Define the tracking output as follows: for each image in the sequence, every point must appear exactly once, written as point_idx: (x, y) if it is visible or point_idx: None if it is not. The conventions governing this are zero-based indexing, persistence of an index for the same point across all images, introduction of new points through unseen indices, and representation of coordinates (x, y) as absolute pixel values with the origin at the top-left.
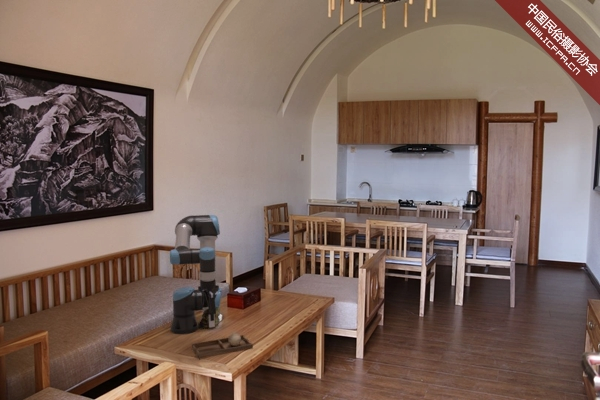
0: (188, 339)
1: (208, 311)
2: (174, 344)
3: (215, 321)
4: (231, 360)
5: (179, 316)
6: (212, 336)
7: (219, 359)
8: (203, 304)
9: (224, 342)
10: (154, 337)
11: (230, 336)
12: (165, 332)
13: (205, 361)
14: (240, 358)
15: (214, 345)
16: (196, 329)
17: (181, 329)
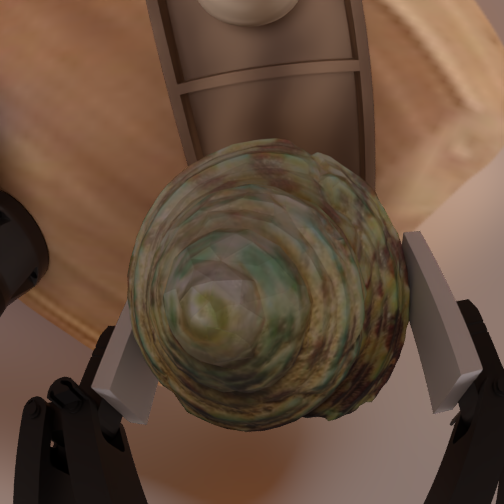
0: (93, 230)
1: (306, 413)
2: None
3: (387, 241)
4: (442, 65)
5: (2, 306)
6: (61, 119)
7: (405, 118)
8: (134, 467)
9: (177, 48)
10: (85, 324)
11: (262, 8)
12: (43, 293)
13: (395, 189)
14: (435, 12)
15: (210, 112)
16: (6, 197)
17: (36, 264)
